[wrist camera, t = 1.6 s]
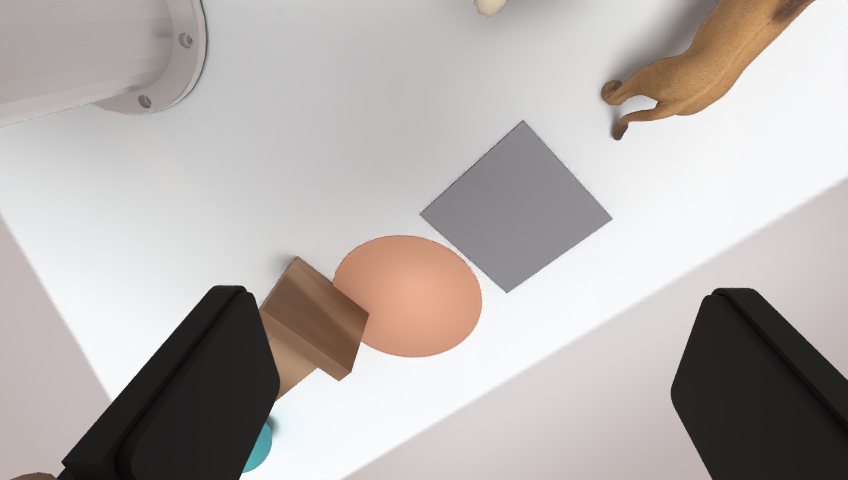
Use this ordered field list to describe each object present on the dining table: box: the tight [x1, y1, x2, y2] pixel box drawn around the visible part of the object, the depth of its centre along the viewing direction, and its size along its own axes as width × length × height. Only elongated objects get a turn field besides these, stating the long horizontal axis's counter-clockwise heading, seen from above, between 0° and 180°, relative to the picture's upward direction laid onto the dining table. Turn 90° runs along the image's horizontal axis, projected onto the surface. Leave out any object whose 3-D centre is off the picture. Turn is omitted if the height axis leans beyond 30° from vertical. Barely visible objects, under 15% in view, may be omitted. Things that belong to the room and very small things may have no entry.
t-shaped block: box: [259, 256, 369, 401], centre depth 35 cm, size 12×8×7 cm
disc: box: [333, 236, 482, 357], centre depth 36 cm, size 13×13×1 cm
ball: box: [242, 422, 272, 473], centre depth 44 cm, size 6×6×6 cm
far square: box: [420, 121, 612, 293], centre depth 31 cm, size 10×10×1 cm
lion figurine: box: [602, 0, 815, 140], centre depth 20 cm, size 15×5×9 cm, turn 159°
